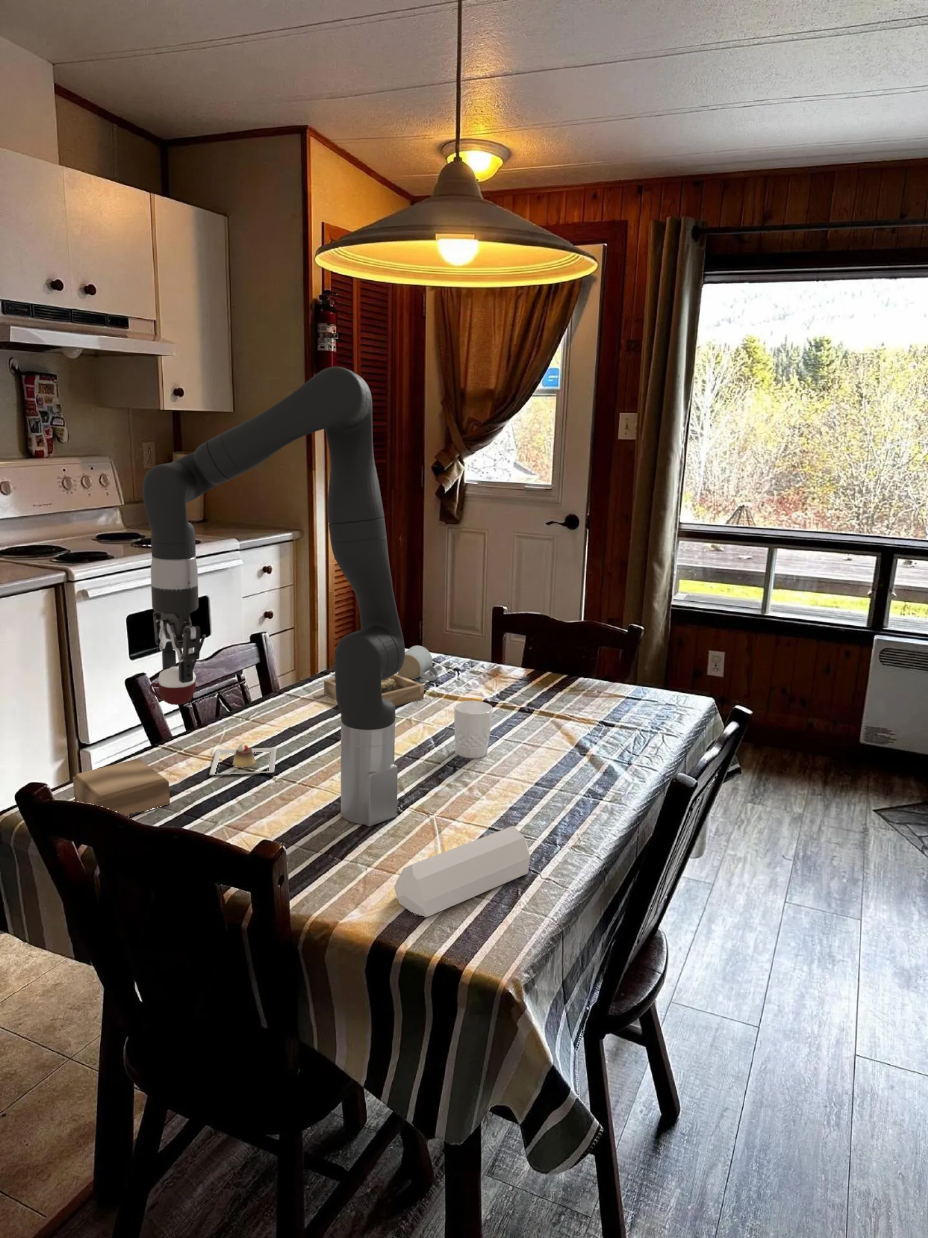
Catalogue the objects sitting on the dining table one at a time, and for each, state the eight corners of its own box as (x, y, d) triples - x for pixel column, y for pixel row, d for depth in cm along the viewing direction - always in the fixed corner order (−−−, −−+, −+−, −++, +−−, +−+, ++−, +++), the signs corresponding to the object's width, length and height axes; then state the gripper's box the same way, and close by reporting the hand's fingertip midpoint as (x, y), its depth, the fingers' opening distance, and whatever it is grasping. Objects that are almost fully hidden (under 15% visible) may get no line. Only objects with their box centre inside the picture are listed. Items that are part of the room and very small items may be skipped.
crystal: (422, 908, 113) (547, 855, 128) (396, 865, 117) (521, 818, 132) (405, 936, 118) (528, 882, 133) (380, 894, 121) (503, 845, 136)
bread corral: (423, 698, 206) (424, 685, 205) (366, 713, 195) (366, 699, 194) (380, 680, 218) (380, 667, 218) (324, 694, 207) (324, 680, 206)
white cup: (444, 751, 175) (446, 706, 172) (470, 742, 181) (472, 698, 178) (472, 763, 170) (474, 716, 167) (498, 753, 175) (500, 707, 173)
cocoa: (146, 706, 146) (139, 640, 142) (166, 693, 151) (159, 629, 148) (197, 710, 144) (191, 644, 140) (214, 697, 150) (209, 633, 146)
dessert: (276, 752, 173) (276, 730, 171) (274, 777, 161) (273, 754, 160) (216, 754, 170) (215, 732, 169) (209, 780, 159) (208, 756, 158)
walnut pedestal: (170, 804, 147) (168, 778, 146) (100, 825, 139) (98, 798, 138) (141, 781, 156) (140, 756, 155) (74, 800, 148) (72, 773, 147)
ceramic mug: (393, 678, 220) (394, 650, 218) (406, 670, 228) (407, 643, 226) (431, 685, 217) (432, 657, 215) (442, 676, 225) (444, 649, 223)
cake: (387, 704, 203) (386, 684, 202) (350, 699, 207) (349, 678, 205) (404, 689, 212) (403, 669, 211) (369, 684, 216) (368, 664, 214)
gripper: (214, 588, 139) (216, 684, 144) (178, 572, 150) (180, 662, 154) (171, 593, 134) (174, 692, 139) (136, 576, 145) (139, 669, 149)
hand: (177, 676), depth 146 cm, fingers closed on cocoa, 6 cm apart
